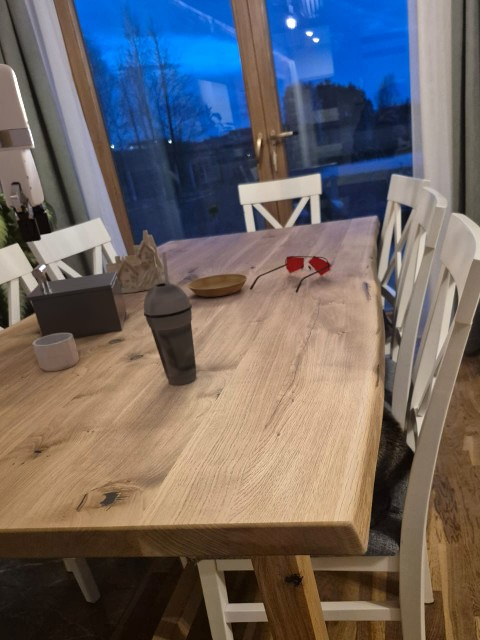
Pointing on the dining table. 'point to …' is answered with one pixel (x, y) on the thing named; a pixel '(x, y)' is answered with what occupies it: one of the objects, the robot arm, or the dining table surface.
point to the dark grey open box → (82, 313)
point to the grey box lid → (68, 284)
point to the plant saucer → (218, 285)
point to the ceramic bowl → (56, 351)
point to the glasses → (298, 263)
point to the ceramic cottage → (139, 267)
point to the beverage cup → (172, 329)
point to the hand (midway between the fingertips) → (38, 237)
